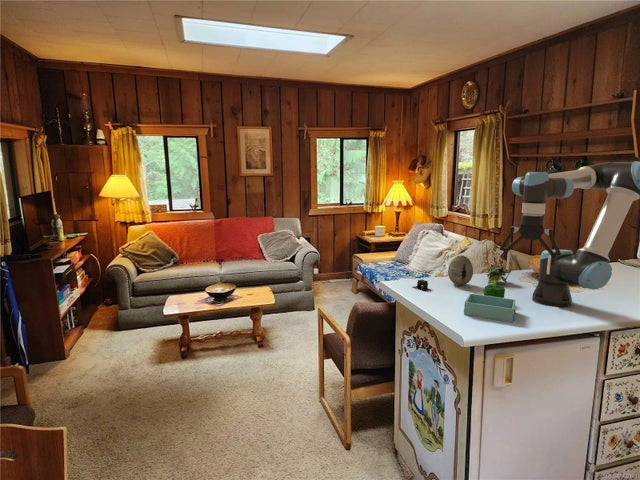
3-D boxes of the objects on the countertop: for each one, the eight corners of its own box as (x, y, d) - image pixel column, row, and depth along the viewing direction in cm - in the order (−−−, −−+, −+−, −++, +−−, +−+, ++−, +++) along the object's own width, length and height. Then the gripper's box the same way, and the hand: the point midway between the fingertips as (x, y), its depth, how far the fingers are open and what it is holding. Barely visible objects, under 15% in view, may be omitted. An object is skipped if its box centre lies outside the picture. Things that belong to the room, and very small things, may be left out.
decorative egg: (445, 281, 212) (446, 252, 209) (468, 282, 211) (470, 253, 208) (450, 287, 200) (452, 257, 198) (474, 288, 199) (477, 258, 197)
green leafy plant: (493, 291, 214) (502, 271, 217) (510, 293, 204) (519, 272, 207) (479, 281, 210) (488, 260, 213) (495, 282, 200) (504, 261, 203)
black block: (437, 291, 196) (437, 282, 195) (426, 294, 192) (426, 284, 191) (418, 285, 206) (418, 276, 205) (407, 287, 202) (407, 278, 202)
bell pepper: (500, 308, 171) (502, 285, 169) (480, 304, 176) (482, 281, 174) (506, 303, 177) (508, 281, 175) (487, 299, 182) (488, 278, 181)
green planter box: (515, 311, 164) (516, 299, 163) (513, 322, 152) (514, 309, 151) (468, 304, 172) (468, 293, 171) (462, 314, 160) (463, 301, 160)
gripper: (571, 215, 149) (565, 273, 152) (496, 211, 160) (492, 265, 163) (573, 217, 142) (566, 277, 145) (495, 213, 153) (490, 269, 157)
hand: (527, 271), depth 154 cm, fingers open, 13 cm apart
